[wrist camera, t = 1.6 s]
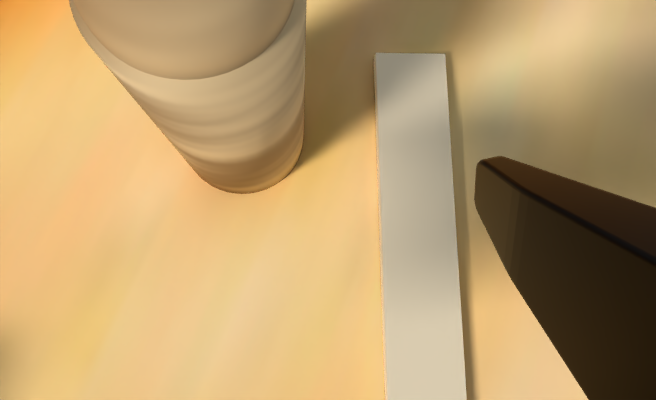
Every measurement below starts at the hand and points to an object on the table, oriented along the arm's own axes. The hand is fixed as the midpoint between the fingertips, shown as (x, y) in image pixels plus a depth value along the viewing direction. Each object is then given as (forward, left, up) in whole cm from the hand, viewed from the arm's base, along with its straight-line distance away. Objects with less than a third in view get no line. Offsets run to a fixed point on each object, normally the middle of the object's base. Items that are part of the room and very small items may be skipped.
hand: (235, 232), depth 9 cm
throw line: (-3, -5, -11) cm, 13 cm away
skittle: (+5, -3, -11) cm, 13 cm away
